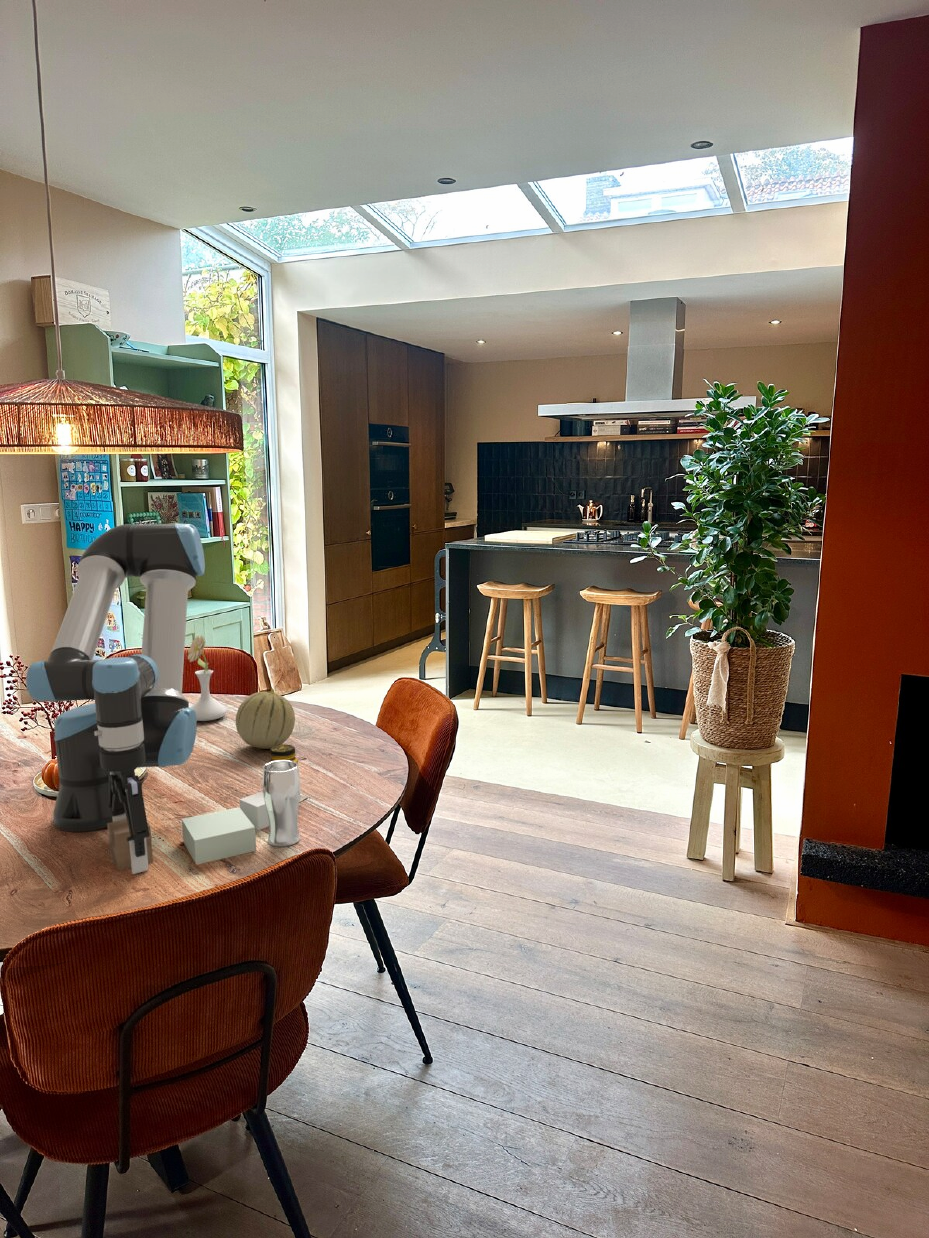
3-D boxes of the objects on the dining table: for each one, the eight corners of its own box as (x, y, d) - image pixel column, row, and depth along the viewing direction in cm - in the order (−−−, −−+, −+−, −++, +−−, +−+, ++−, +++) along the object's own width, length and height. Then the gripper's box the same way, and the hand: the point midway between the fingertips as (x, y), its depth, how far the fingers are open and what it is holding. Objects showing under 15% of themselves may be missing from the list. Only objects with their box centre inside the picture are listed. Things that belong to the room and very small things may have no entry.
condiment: (286, 809, 177) (283, 755, 175) (256, 802, 181) (253, 748, 179) (309, 797, 183) (306, 744, 181) (279, 790, 187) (276, 739, 185)
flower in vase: (186, 714, 246) (180, 630, 241) (226, 711, 249) (221, 628, 245) (185, 727, 233) (179, 639, 229) (228, 723, 237) (223, 636, 232)
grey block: (240, 822, 171) (239, 799, 170) (265, 813, 175) (264, 790, 174) (258, 830, 167) (257, 806, 166) (283, 820, 171) (282, 797, 170)
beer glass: (305, 831, 166) (301, 759, 163) (299, 847, 159) (295, 771, 156) (269, 832, 165) (265, 759, 163) (262, 848, 159) (258, 772, 156)
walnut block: (110, 858, 155) (107, 823, 154) (144, 850, 159) (141, 815, 157) (118, 871, 150) (115, 834, 149) (153, 861, 154) (150, 825, 153)
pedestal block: (183, 843, 162) (181, 818, 161) (240, 830, 167) (239, 807, 166) (196, 866, 153) (194, 840, 152) (256, 852, 158) (254, 827, 157)
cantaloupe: (226, 754, 211) (222, 696, 208) (254, 736, 225) (251, 682, 222) (280, 758, 208) (277, 700, 205) (305, 740, 222) (303, 685, 219)
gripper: (84, 732, 158) (94, 842, 162) (116, 767, 139) (127, 890, 143) (126, 725, 162) (135, 832, 166) (162, 757, 143) (171, 877, 147)
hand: (131, 859), depth 154 cm, fingers open, 11 cm apart
